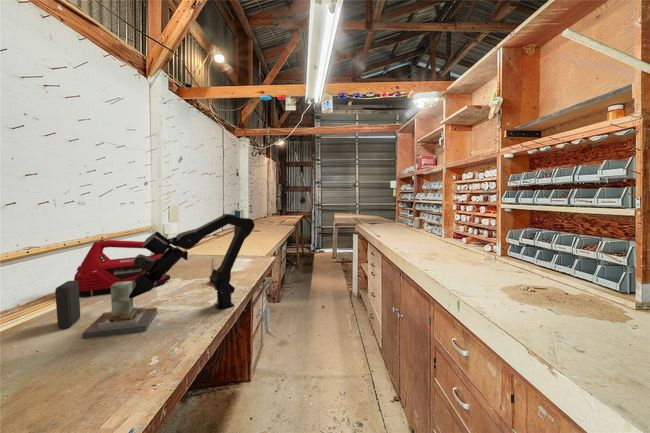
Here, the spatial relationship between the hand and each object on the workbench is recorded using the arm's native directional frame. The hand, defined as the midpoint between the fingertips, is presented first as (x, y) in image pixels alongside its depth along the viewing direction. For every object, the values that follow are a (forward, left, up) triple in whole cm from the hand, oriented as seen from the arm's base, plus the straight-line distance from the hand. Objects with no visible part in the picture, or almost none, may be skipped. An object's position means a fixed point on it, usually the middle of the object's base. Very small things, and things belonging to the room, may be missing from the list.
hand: (134, 293), depth 104 cm
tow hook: (+30, -38, -12) cm, 49 cm away
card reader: (+13, +20, -11) cm, 26 cm away
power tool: (+50, +2, -12) cm, 52 cm away
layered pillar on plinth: (+1, +4, -9) cm, 10 cm away
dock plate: (+1, +4, -11) cm, 12 cm away
